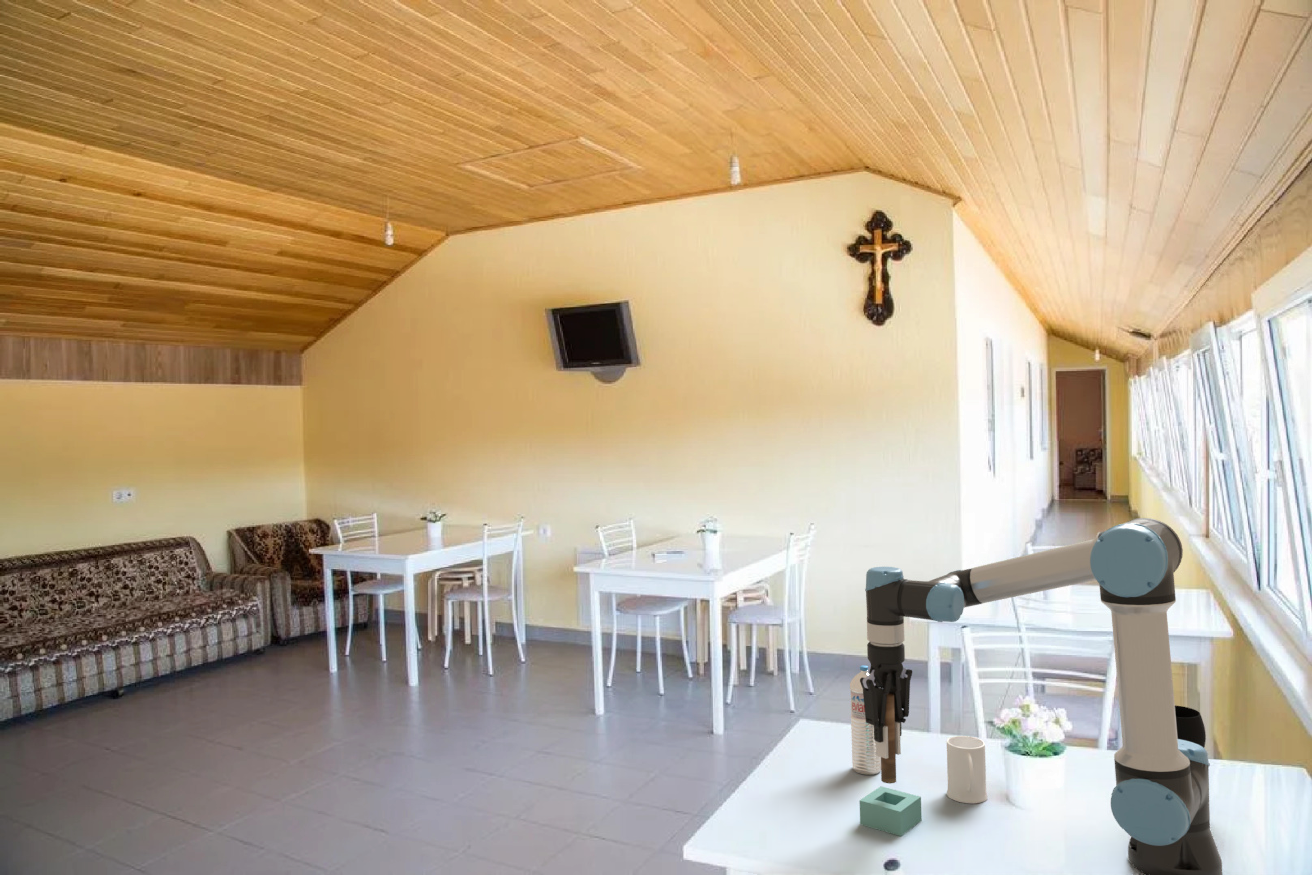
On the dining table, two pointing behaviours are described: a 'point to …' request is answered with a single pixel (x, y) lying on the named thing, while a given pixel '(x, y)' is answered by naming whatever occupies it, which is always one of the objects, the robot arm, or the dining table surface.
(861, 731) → the water bottle
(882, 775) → the dowel
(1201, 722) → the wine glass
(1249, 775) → the dining table surface
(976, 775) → the mug
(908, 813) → the block with square hole
